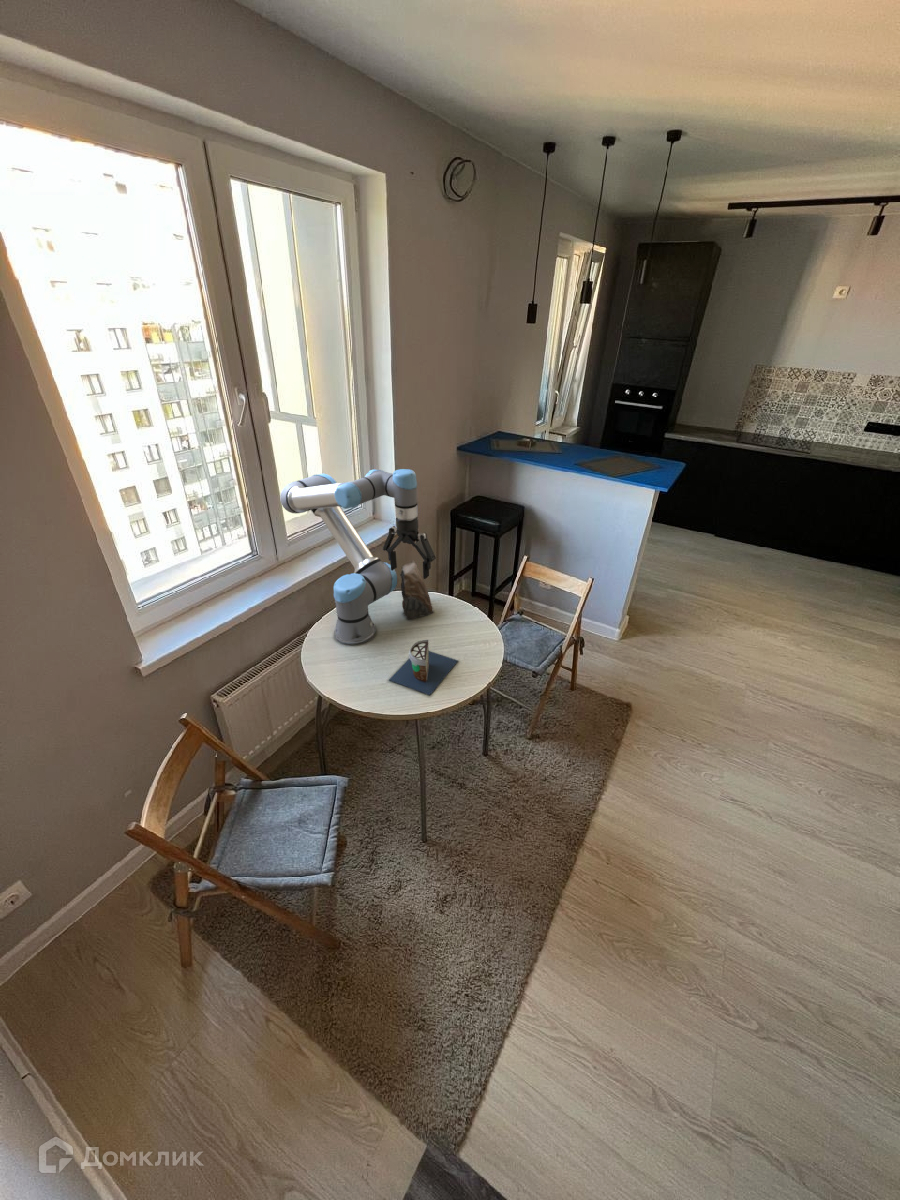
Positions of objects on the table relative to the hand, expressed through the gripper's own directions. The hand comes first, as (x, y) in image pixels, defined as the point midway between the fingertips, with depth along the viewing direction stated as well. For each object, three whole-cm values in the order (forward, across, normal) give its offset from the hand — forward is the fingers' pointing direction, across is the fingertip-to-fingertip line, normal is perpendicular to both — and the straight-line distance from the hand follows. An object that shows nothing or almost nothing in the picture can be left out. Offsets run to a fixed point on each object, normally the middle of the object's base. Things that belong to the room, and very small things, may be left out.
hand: (409, 573), depth 175 cm
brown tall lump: (+27, -7, +14) cm, 31 cm away
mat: (+27, +15, -17) cm, 35 cm away
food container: (+26, +14, -19) cm, 36 cm away
